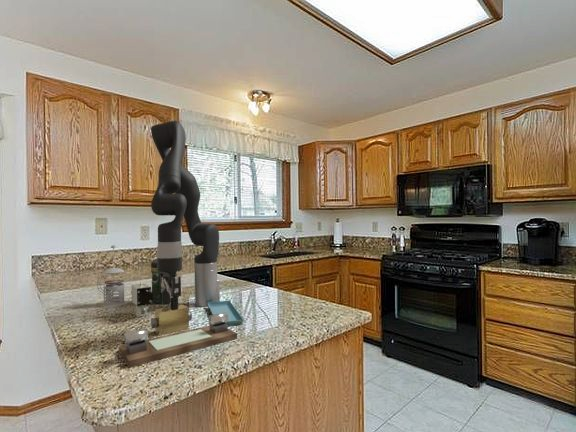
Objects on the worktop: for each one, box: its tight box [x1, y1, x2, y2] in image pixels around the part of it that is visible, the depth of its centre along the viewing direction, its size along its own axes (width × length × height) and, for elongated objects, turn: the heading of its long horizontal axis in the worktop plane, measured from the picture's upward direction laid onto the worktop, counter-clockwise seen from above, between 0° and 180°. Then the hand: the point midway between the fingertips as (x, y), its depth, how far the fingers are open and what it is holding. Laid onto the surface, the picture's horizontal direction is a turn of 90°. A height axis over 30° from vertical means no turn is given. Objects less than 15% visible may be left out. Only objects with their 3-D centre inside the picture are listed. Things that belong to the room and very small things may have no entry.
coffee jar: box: [150, 258, 169, 304], centre depth 141 cm, size 10×8×19 cm
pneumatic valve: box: [130, 282, 153, 318], centre depth 121 cm, size 6×12×12 cm, turn 38°
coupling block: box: [150, 304, 193, 337], centre depth 104 cm, size 12×4×7 cm, turn 127°
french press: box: [96, 244, 128, 308], centre depth 138 cm, size 10×12×25 cm
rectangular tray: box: [207, 300, 245, 326], centre depth 119 cm, size 26×9×2 cm, turn 20°
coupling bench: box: [118, 312, 238, 368], centre depth 92 cm, size 29×12×6 cm, turn 127°
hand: (170, 307), depth 104 cm, fingers open, 8 cm apart
